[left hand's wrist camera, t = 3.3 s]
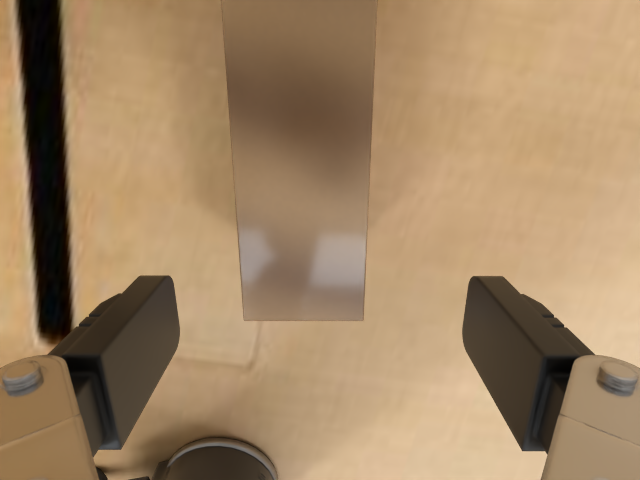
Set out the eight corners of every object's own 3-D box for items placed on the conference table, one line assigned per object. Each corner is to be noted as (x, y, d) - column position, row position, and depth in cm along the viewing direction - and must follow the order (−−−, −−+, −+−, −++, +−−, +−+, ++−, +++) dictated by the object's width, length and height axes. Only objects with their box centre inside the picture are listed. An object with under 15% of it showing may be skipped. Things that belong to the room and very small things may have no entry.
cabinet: (251, -102, 21) (203, -239, 12) (359, -102, 21) (388, -239, 12) (267, 250, 27) (243, 321, 19) (349, 250, 27) (363, 321, 19)
